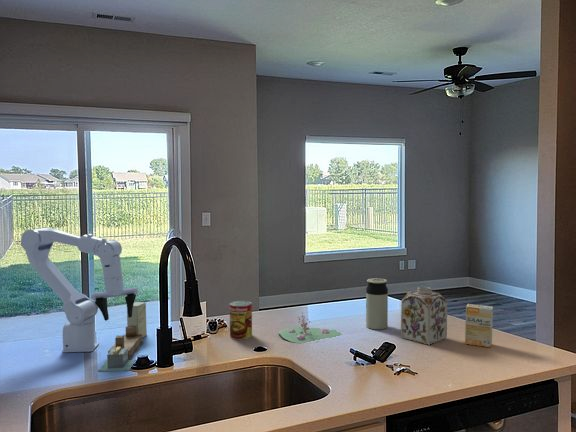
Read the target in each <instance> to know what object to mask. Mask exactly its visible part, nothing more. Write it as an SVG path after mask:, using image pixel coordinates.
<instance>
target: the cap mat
mask: <svg viewBox="0 0 576 432" xmlns="http://www.w3.org/2000/svg"><path fill="white" fill-rule="evenodd" d="M135 361H136V362H137V359H131V360H128V362H127V363H126V364H125V366H124V367H123V368H108V366H107V360H105V362H104V363H103V364H102V365H101V366H100V367H99V369H98V370H97V371H98V372H99V373H100V372H123V371H126V372H127V371H129V372H130V371H131V370H132V368H133V366H134V365H135V363H136V362H135ZM134 362H135V363H134ZM133 364H134V365H133ZM132 365H133V366H132ZM131 367H132V368H131Z"/></svg>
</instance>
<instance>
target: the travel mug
mask: <svg viewBox="0 0 576 432" xmlns="http://www.w3.org/2000/svg"><path fill="white" fill-rule="evenodd" d="M366 282H367V286H366V288H365V289H366V293H365V295H366V296H365V303H366V305H365V310H366V311H365V312H366V313H365V314H366V315H365V316H366V317H365V326H366V328H368V329H371V330H374V329H376V330H377V331H378V330H385V329H387V328H388V326H389V323H388V319H389V318H388V317H389V316H388V315H389V314H388V311H389V310H388V307H389V306H388V305H389V302H388V301H389V298H388V297H389V295H388V294H389V289H388V286H387V282H388V279H384V278H377V277H375V278H368V279H367V280H366ZM376 330H375V331H376Z"/></svg>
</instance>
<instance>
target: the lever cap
mask: <svg viewBox="0 0 576 432" xmlns="http://www.w3.org/2000/svg"><path fill="white" fill-rule="evenodd" d="M106 357H107V360H106V361H107V366H108V368H123V367H124V366H125V364H126V363H127V362H128V348H121V347H117V348H113V349H112V350H111V351H110V352H109V353H108V352H107V355H106Z"/></svg>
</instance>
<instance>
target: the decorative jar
mask: <svg viewBox="0 0 576 432" xmlns="http://www.w3.org/2000/svg"><path fill="white" fill-rule="evenodd" d="M447 335H448V301H447V299H445V297H444V296H443V295H441V293H440V292H437V291H432V288H431V287H428V286H418V287H417V288H416V290H412V291H408V292H407V293H406V294H405V295H404V296H403V298H402V299H401V310H400V337H401V339H404V338H405V339H404V340H407V339H409V340H408V341H411V340H413V341H412V342H415V341H417V342H416V343H418V342H421V343H420V344H422V343H424V344H423V345H425V344H428V345H427V346H431V345H433V344H432V343H434V344H436V343H439V342H441V341H444V340H447V337H448V336H447ZM443 339H444V340H443ZM438 341H439V342H438ZM435 342H436V343H435ZM430 344H431V345H430Z"/></svg>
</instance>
